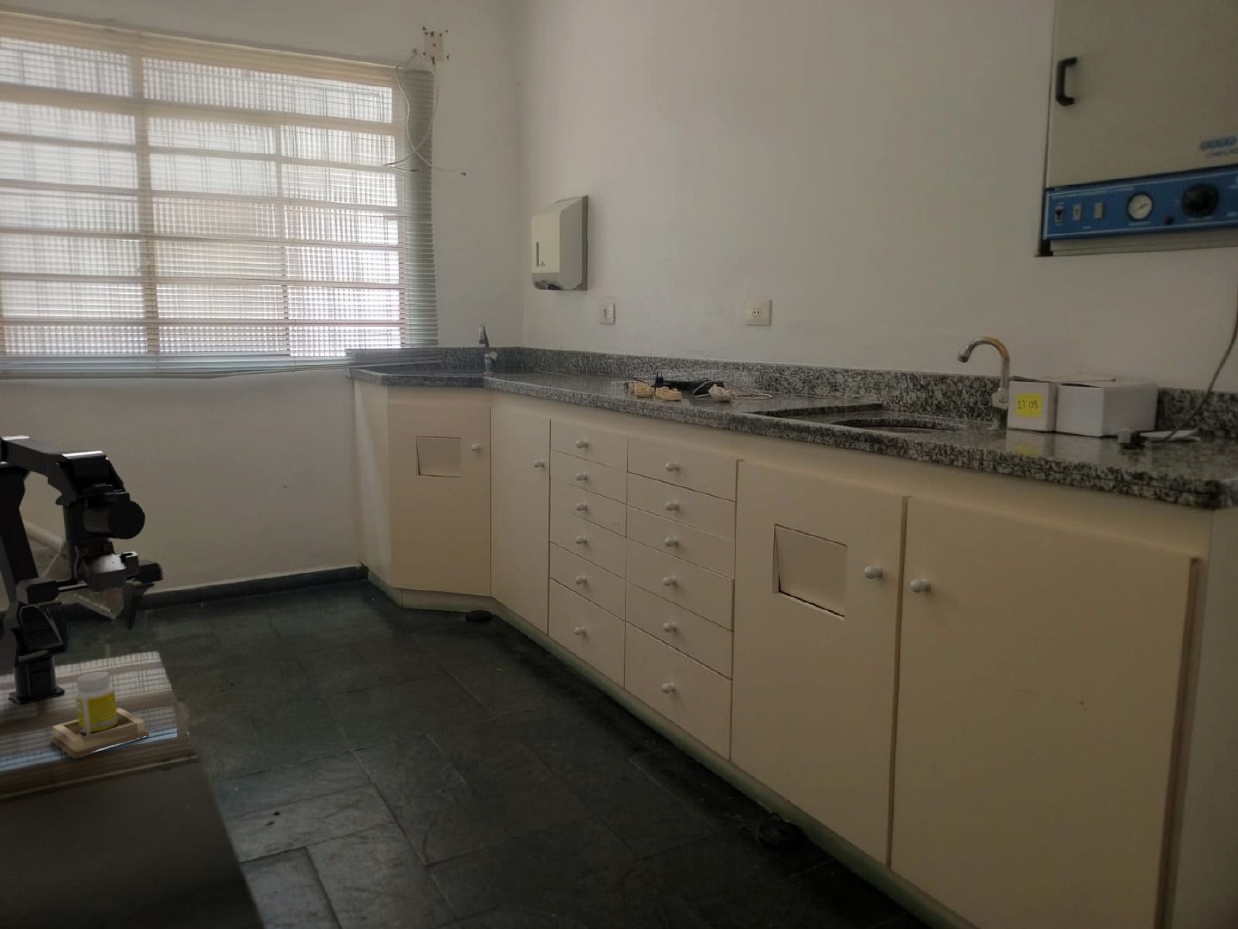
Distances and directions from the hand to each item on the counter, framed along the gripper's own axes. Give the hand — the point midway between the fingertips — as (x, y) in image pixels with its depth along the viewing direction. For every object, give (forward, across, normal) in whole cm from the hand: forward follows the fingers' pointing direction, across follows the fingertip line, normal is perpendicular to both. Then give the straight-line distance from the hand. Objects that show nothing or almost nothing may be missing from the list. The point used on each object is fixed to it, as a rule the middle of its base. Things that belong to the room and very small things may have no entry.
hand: (97, 636), depth 144 cm
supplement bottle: (+11, -4, -11) cm, 16 cm away
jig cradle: (+12, -4, -11) cm, 17 cm away
